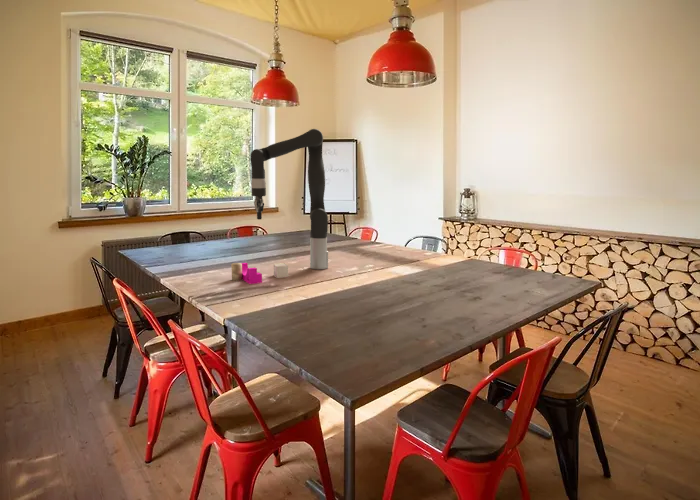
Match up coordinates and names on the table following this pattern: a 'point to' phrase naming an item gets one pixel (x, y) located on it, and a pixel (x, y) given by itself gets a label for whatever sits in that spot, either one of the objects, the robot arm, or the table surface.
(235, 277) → the birch cylinder
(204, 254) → the table surface
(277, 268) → the beige cube
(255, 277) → the toy block
